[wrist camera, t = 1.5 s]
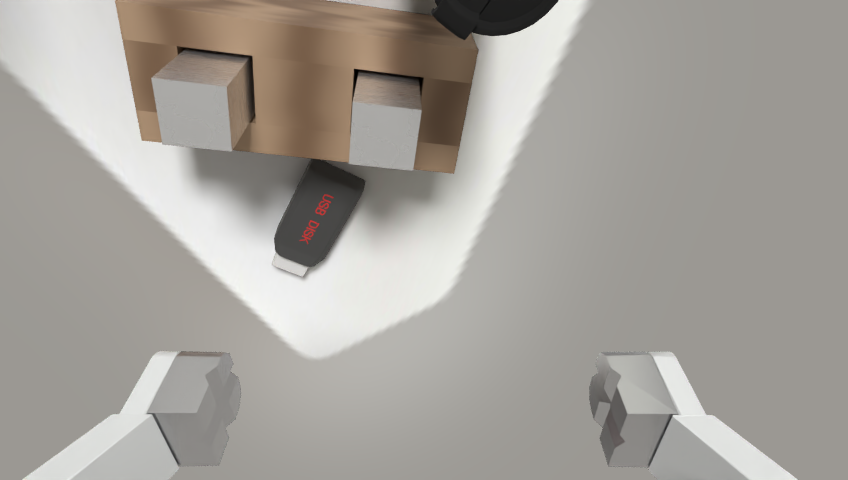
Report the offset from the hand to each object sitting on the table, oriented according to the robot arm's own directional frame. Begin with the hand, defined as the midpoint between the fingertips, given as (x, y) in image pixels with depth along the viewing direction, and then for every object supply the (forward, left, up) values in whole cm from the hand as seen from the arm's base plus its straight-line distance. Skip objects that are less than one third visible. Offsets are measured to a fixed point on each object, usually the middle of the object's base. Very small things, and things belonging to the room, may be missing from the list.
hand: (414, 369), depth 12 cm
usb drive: (-6, -19, -35) cm, 40 cm away
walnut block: (-6, -4, -34) cm, 35 cm away
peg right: (-1, -4, -28) cm, 28 cm away
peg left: (-12, -4, -28) cm, 31 cm away
